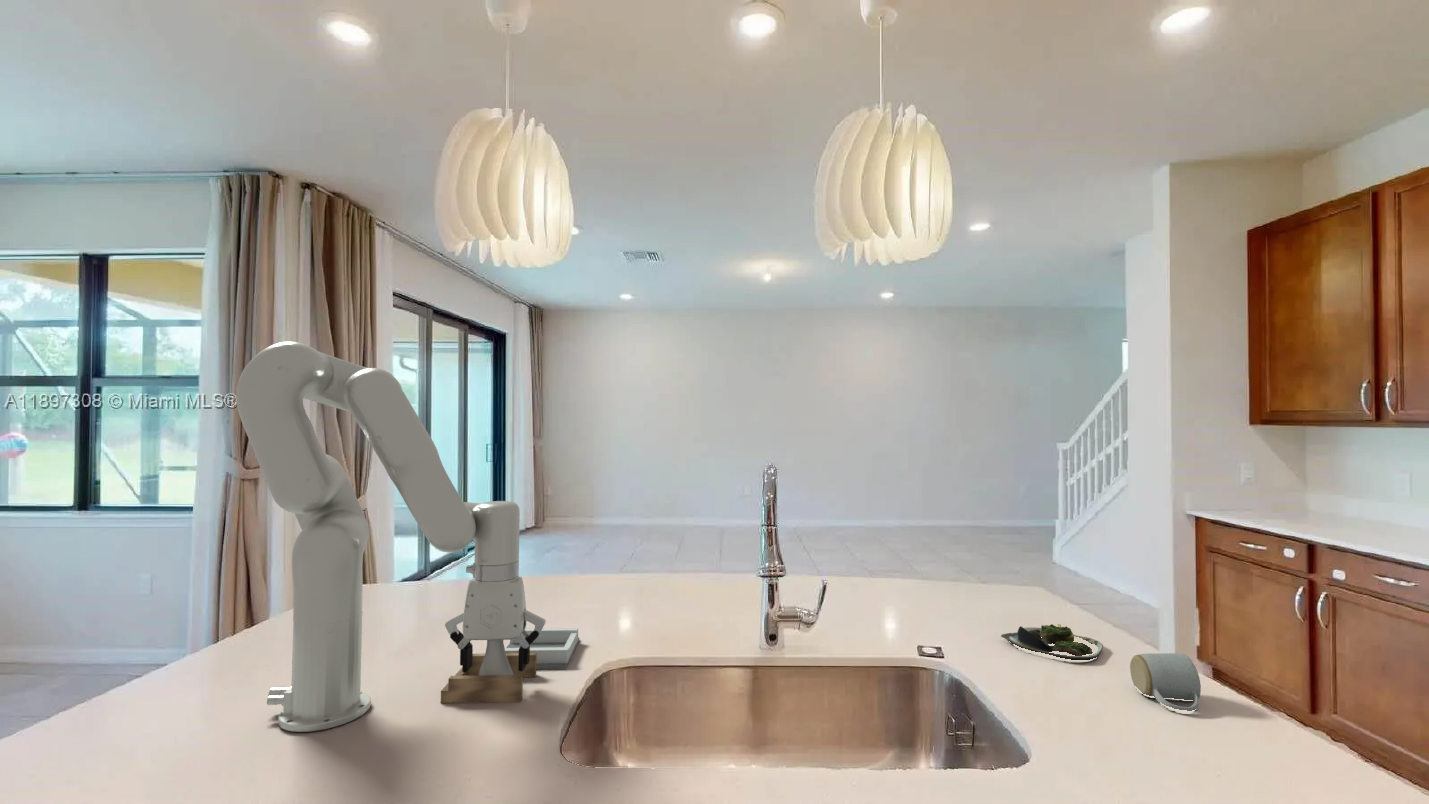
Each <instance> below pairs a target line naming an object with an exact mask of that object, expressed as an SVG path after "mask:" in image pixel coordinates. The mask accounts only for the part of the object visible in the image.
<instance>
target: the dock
mask: <svg viewBox="0 0 1429 804" xmlns="http://www.w3.org/2000/svg"><path fill="white" fill-rule="evenodd" d="M534 629H535V627H533V628H530V627H529V628H525V630H526V631H527V633H528V634H529V635H530V634H531V633H532V632H533V631H534ZM579 641H580V637H579V627H556V628H555V627H554V628H552V627H549V628H548V627H547V628H544V627H543V629H542V630H541V632H540V634H539V636H538V637H537V638H536V639H535V640H534V641H533V642H532V643H531V644H530V653H537V664H536V671H537V670H539V671H541V670H546V669H547V670H548V671H549V670H566V669H567V667H568V666H569V663H570V661H571V659H572V656H573V655H574V653H575V650H576V648H577V646H578V644H579ZM520 647H521V645H520V644H519V642H518V641H517V640H516V639H511V640H509V644H508V645H507V646H506V647H504V648H505V653H519V648H520ZM547 670H546V671H547Z"/></svg>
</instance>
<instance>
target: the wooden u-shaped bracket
mask: <svg viewBox="0 0 1429 804" xmlns="http://www.w3.org/2000/svg"><path fill="white" fill-rule="evenodd" d="M506 655H507V658H508V661H509V664H510V667H511V669H512V672H513V674H514V675H478V674H479V671H480V668H481V665H482V663H483V660H484V657H485V653H473V656H472V666H471V668H470V669H469V670H468V671H467V672H462V667H461V668H460V669H459V670H458V671H457V672H456V673H455V675H450V676H449V678H448V679H447V680H448V682H447V684H446V685H445V686H444V687H443V688H442V689H441V690H440V704H457V703H456V702H460V703H461V702H462V703H461V704H463V702H464V703H465V702H466V703H465V704H467V702H476V703H519V702H520V703H521V702H522V700H523V697H524V695H523V689H524V688H523V687H524V686H523V685H524V684H523V683H524V682H523V681H524V680H523V678H535V677H536V676H537V670H536V664H537V653H530V661H529V664H528V665H526V667H525V668H524V670H523V671H519V670H518V661H519V653H506ZM452 702H453V703H452ZM454 702H455V703H454ZM460 703H459V704H460Z"/></svg>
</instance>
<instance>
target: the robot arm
mask: <svg viewBox="0 0 1429 804" xmlns="http://www.w3.org/2000/svg"><path fill="white" fill-rule="evenodd" d="M235 391H236V392H235V395H236V397H235V399H236V407H237V412H238V415H239V418H240V421H241V423H242V426H243V429H244V431H245V433H246V436H247V438H248V440H249V442H250V445H251V448H252V450H253V454H254V455H255V458H256V461H257V463H258V465H259V467H260V470H261V472H262V474H263V476H264V478H265V481H266V483H267V486H268V489H269V492H270V494H271V497H272V499H273V500H274V502H275V504H277V505H278V507H280V508H281V509H283V510H284V511H286V512H288V513H292V514H294V515H295V517H296V519H297V522H298V524H299V526H300V529H301V531H300V533H299V534H298V536H297V537H296V539H295V542H294V544H293V547H292V552H291V573H292V587H293V588H292V589H293V591H292V593H293V598H292V599H293V600H292V601H293V603H292V604H293V605H292V606H293V607H292V610H293V611H292V622H293V623H292V651H291V653H292V654H291V655H292V658H291V659H292V661H291V686H289V687H287V686H273V687H271V688H270V689H269V692H268V697H267V699H266V705H268V706H277V705H281V706H282V710H281V711H280V713H279V714H278V719H277V720H278V721H277V723H278V726H279V727H280V728H281V729H282V730H285V731H289V732H295V733H307V732H317V731H322V730H324V731H325V730H329V729H332V728H335V727H338V726H342V725H345V724H347V723H350V722H353V721H354V720H356V719H358V718H359V717H361V716H363V715H364V714H366V712H367V711H369V709H370V707H371V706H372V705H371V704H372V698H371V696H370V695H369V694H368V693H366V692H364V691H361V685H362V683H361V681H362V676H361V675H362V645H363V644H362V642H363V641H362V640H363V601H364V599H363V597H364V596H363V593H364V592H363V591H364V589H363V581H364V580H363V577H364V575H363V561H364V553H365V551H366V548H367V546H368V543H369V539H370V528H369V527H370V526H369V523H368V521H367V519H366V517H365V514H364V511H363V509H362V507H361V504H360V502H359V500H358V498H357V495H356V492H355V490H354V488H353V486H352V483H351V481H350V479H349V477H348V474H347V473H346V470H345V469H344V467H343V466H342V464H341V463H340V462H339V461H338V460H337V459H336V458H334V457H333V456H332V455H329V454H327V453H326V452H324V449H323V448H322V446H321V444H320V441H319V439H318V436H317V434H316V431H315V428H314V426H313V423H312V422H311V420H310V417H309V415H308V414H307V412H306V410H305V406H304V399H305V400H309V401H312V402H315V403H317V404H318V403H319V404H321V405H325V406H329V407H332V408H336V409H339V410H343V411H345V412H348V413H351V415H352V416H353V418H354V419H355V422H356V424H357V425H358V426H359V428H360V429H361V430H362V432H363V434H364V436H365V437H366V439H367V441H368V442H369V444H370V446H371V447H372V449H373V451H374V452H375V454H376V456H377V458H378V459H379V461H380V462H381V464H382V466H383V467H384V469H385V471H386V473H387V476H388V477H389V479H390V480H391V482H393V484H394V486H395V487H396V489H397V491H398V492H399V494H400V496H401V498H402V500H403V502H404V503H405V504H406V507H407V508H408V510H409V511H410V513H411V515H412V517H413V518H414V521H416V523H417V525H418V526H419V528H420V530H421V531H422V533H423V535H424V536H425V538H426V539H427V540H428V542H429V544H430V545H431V546H433V547H434V548H435V549H436V550H438V551H440V552H443V553H446V554H447V553H451V554H452V553H457V552H460V551H462V550H464V549H465V548H467V547H468V546H469V545H470V544H471V543H472V542H474V562H473V563H472V564H469V565H468V564H467V565H466V568H465V571H466V573H467V574H471V575H472V578H471V580H469V581H468V584H467V590H466V595H465V600H464V608H463V612H462V613H460V614H457V616H455V617H452V618H451V619H449V620H448V621H446V622H445V623H444V627H445V629H446V631H447V632H448V634H449V639H451V640H452V641H453V642H454V643H455V644H456V646H457V648H458V649H459V666H462V667H461V668H462V672H467V671H468V670H469V669H470V668H471V666H472V656H473V654H474V653H473V650H474V647H473V644H472V643H471V641H487V640H503V641H505V640H506V641H510V640H511V639H516V640H517V641H518V642H519V644H520V645H521V647H520V648H519V661H518V670H519V671H523V670H524V668H525V667H526V665H528V664H529V661H530V644H531V643H532V642H533V641H534V640H535V639H536V638H537V637H538V636H539V634H540V632H541V630H542V629H543V628H544V627H545V625H546V622H547V621H546V619H544V618H542V617H541V616H539V615H537V614H535V613H533V612H531V611H529V610H527V601H526V594H525V593H526V592H525V585H524V581H523V577H522V576H519V574H520V570H519V568H520V521H521V520H520V507H519V505H518V503H516V502H513V501H510V500H509V501H508V500H496V501H495V500H493V501H486V502H470V501H469V502H466V501H464V500H463V499H462V498H461V496H460V494H459V492H458V491H457V489H456V488H455V485H454V484H453V482H452V481H451V479H450V476H449V475H448V473H447V471H446V469H445V467H444V465H443V463H442V460H441V458H440V455H439V454H440V453H439V451H438V449H437V446H436V444H435V443H434V441H433V439H432V438H431V435H430V434H429V432H428V431H427V428H426V427H425V426H424V424H423V422H422V421H421V419H420V417H419V416H418V414H417V412H416V411H415V409H414V407H413V405H412V404H411V401H409V398H408V396H407V395H406V394H405V391H404V390H403V388H402V385H401V384H400V382H399V381H398V379H397V378H396V377H395V376H394V375H393V374H392V373H391V372H389V371H387V370H385V369H382V368H377V367H368V366H367V367H366V366H363V365H360V364H356V363H353V362H350V361H347V360H345V359H342V358H338V357H335V356H333V355H330V354H327V353H324V352H322V351H319V350H317V349H316V348H313V347H312V346H309V345H308V344H305V343H302V342H298V341H281V342H277V343H274V344H271V345H269V346H267V347H266V348H264V349H262V350H261V351H260V352H258V353H257V354H256V355H254V356H253V357H252V358H251V360H250V361H249V362H248V363H247V364H246V365H245V367H244V368H243V370H242V371H241V374H240V376H239V379H238V382H237V386H236V390H235ZM527 622H529V623H530V624H533V625H534V628H535V629H534V631H533V632H532V633H531V634H530V635H529V634H528V633H527V631H526V630H525V629H527V628H526V627H527ZM461 623H462V632H461V631H460V630H459V628H458V627H457V626H458V625H460V624H461Z"/></svg>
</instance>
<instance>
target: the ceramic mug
mask: <svg viewBox="0 0 1429 804" xmlns="http://www.w3.org/2000/svg"><path fill="white" fill-rule="evenodd" d="M1129 670H1130V678H1131V680H1132V683H1133V686H1134V687H1135V686H1136V687H1137V688H1138V689H1139V690H1140V691H1141V692H1142V693H1143V694H1146V695H1149V696H1154V697H1155V698H1156V699H1155V700H1156V701H1157V702H1158V703H1159V702H1161V703H1162V704H1164V705H1166V706H1169V707H1172V708H1174V709H1179V710H1187V711H1192V710H1195V709H1198V706H1199V699H1200V696H1201V691H1202V688H1201V687H1202V685H1201V679H1200V676H1199V672H1198V669H1197V668H1196V664H1195V663H1194V662H1193V661H1192V659H1191V658H1190V657H1189V656H1188V655H1187V654H1185V653H1182V652H1173V653H1172V652H1170V653H1169V652H1168V653H1164V652H1163V653H1141V654H1140V653H1139V654H1136V655H1134V656H1133V657H1132V658H1131V660H1130V663H1129ZM1164 698H1174V699H1184V700H1193V701H1194V702H1193V704H1192V705H1191V706H1188V707H1187V706H1180V705H1176V704H1174V703H1171V702H1169V700H1165V699H1164Z"/></svg>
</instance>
